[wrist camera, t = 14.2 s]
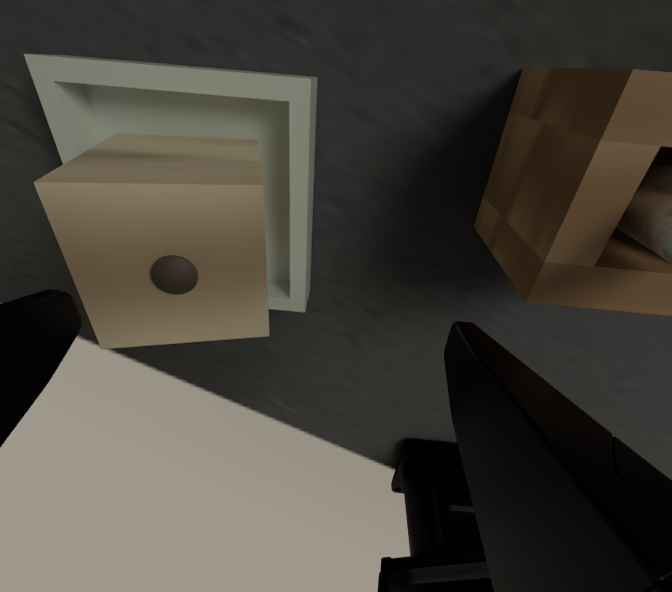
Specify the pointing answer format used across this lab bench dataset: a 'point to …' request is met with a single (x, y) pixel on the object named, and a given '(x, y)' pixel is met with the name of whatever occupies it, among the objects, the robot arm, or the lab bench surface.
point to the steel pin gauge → (651, 211)
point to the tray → (201, 134)
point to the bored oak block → (579, 188)
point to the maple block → (164, 237)
